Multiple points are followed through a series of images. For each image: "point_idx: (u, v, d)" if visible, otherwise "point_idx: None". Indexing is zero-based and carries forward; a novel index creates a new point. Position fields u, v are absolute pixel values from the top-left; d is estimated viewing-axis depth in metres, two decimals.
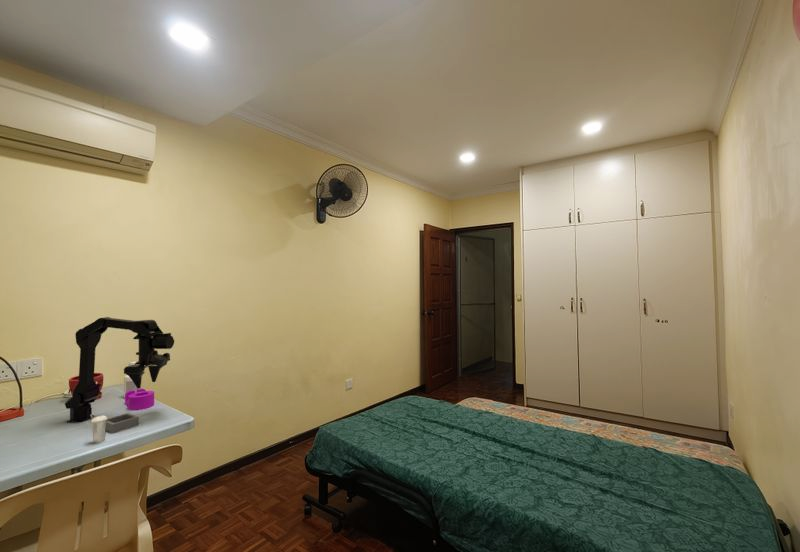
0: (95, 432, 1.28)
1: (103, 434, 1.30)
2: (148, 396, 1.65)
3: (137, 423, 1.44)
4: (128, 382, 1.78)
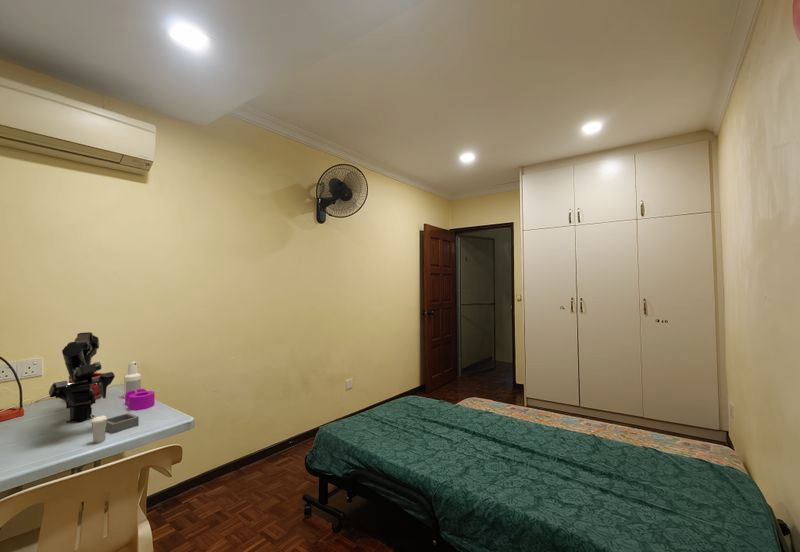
0: (95, 432, 1.28)
1: (103, 434, 1.30)
2: (148, 396, 1.64)
3: (137, 423, 1.44)
4: (128, 382, 1.78)
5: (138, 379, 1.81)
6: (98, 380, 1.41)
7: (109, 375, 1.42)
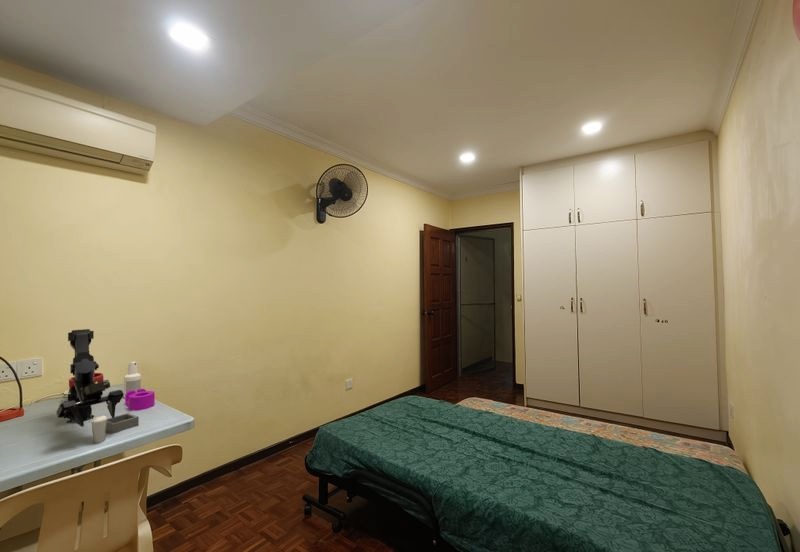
0: (95, 432, 1.28)
1: (103, 434, 1.30)
2: (148, 396, 1.64)
3: (137, 423, 1.44)
4: (128, 382, 1.78)
5: (138, 379, 1.81)
6: (107, 398, 1.36)
7: (118, 393, 1.38)
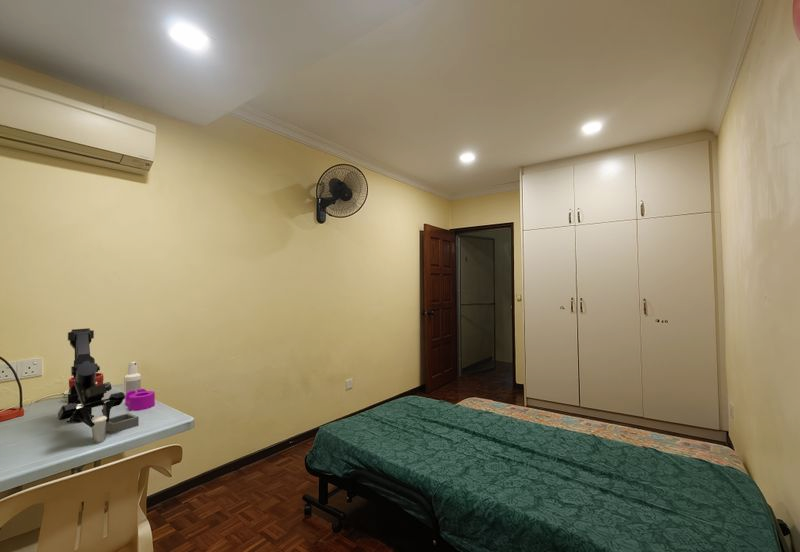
0: (94, 432, 1.28)
1: (103, 434, 1.30)
2: (149, 396, 1.64)
3: (137, 423, 1.44)
4: (128, 382, 1.78)
5: (138, 379, 1.81)
6: (108, 401, 1.36)
7: (119, 395, 1.38)
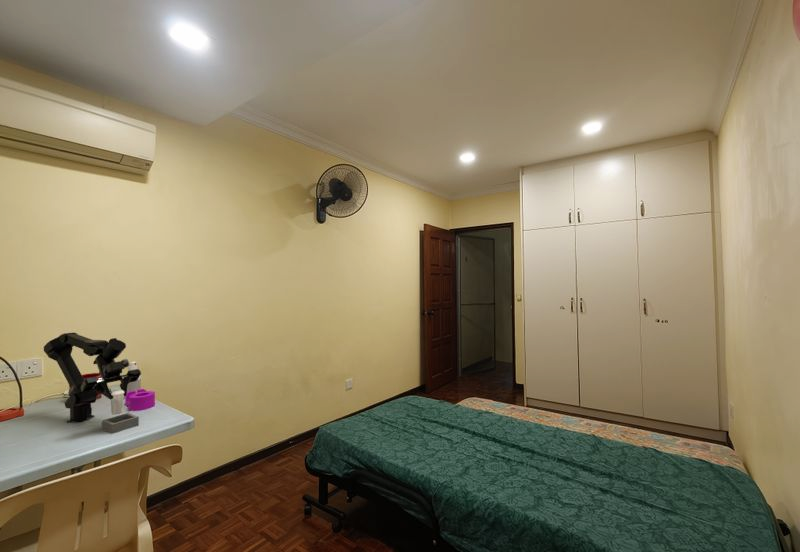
0: (113, 405, 1.39)
1: (120, 407, 1.40)
2: (149, 396, 1.64)
3: (137, 423, 1.44)
4: None
5: (138, 379, 1.80)
6: (126, 376, 1.47)
7: (136, 372, 1.49)
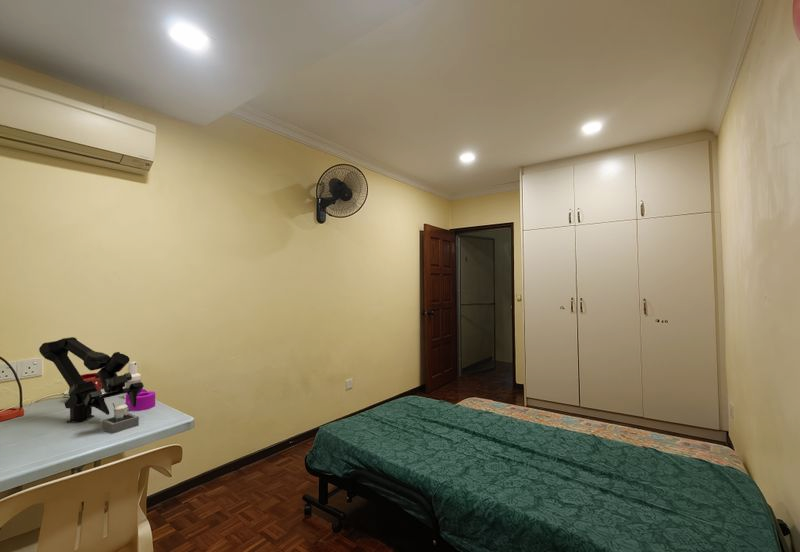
0: (117, 419, 1.41)
1: None
2: (149, 397, 1.64)
3: (137, 423, 1.44)
4: (128, 382, 1.78)
5: (138, 379, 1.80)
6: (128, 390, 1.49)
7: (138, 385, 1.50)
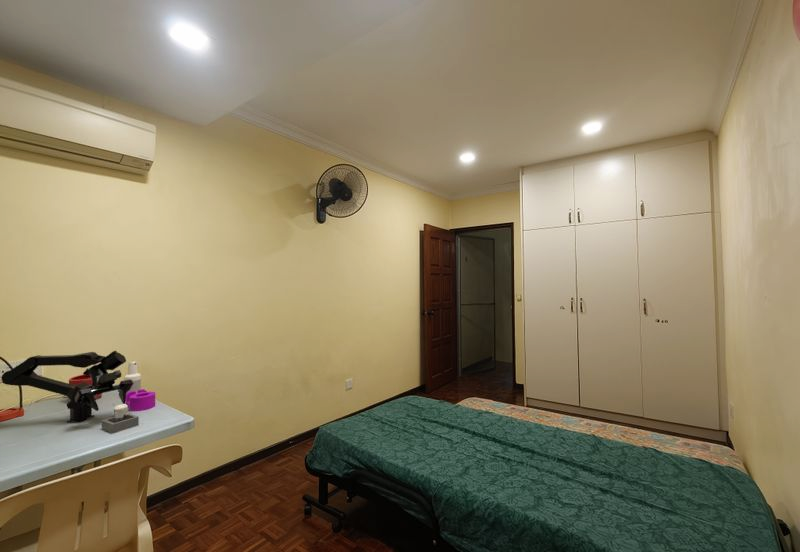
0: (117, 419, 1.41)
1: None
2: (149, 397, 1.63)
3: (137, 423, 1.44)
4: None
5: (138, 379, 1.81)
6: (118, 387, 1.53)
7: (128, 382, 1.54)
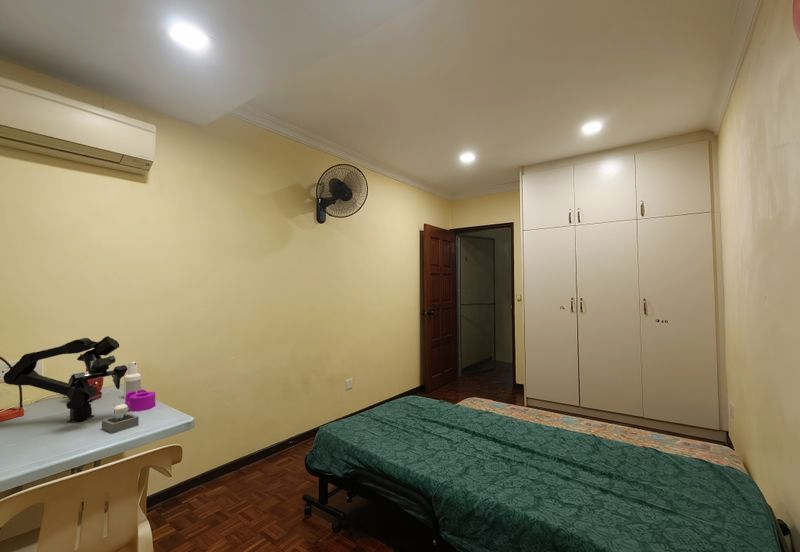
0: (117, 419, 1.41)
1: None
2: (149, 397, 1.63)
3: (137, 423, 1.44)
4: (128, 382, 1.78)
5: (138, 379, 1.80)
6: (112, 372, 1.52)
7: (122, 368, 1.54)
